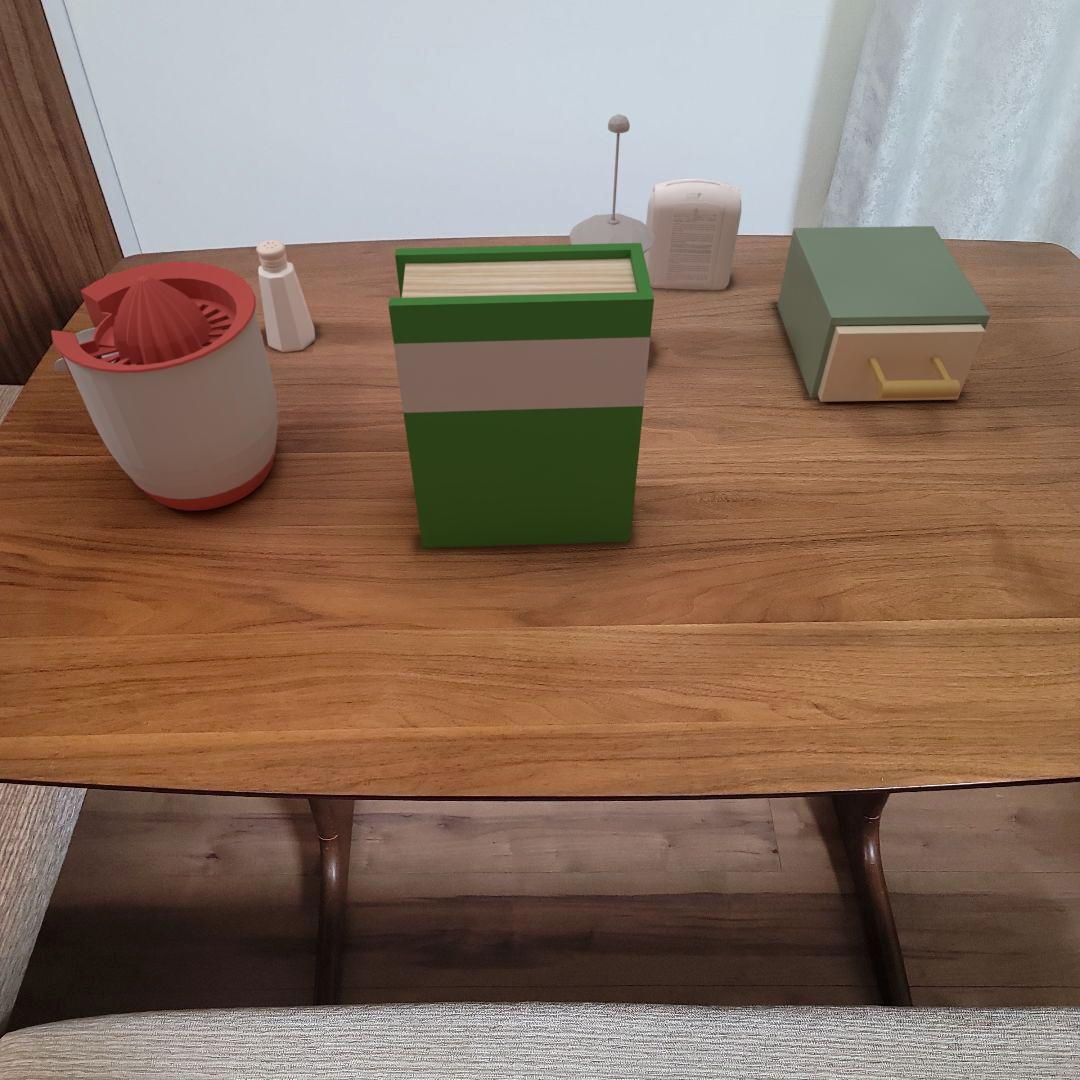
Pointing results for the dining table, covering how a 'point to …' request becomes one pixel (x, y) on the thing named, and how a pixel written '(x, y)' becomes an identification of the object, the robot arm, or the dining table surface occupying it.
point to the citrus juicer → (177, 381)
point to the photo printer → (692, 233)
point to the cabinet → (868, 287)
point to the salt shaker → (283, 300)
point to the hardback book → (523, 389)
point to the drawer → (899, 362)
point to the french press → (613, 213)
